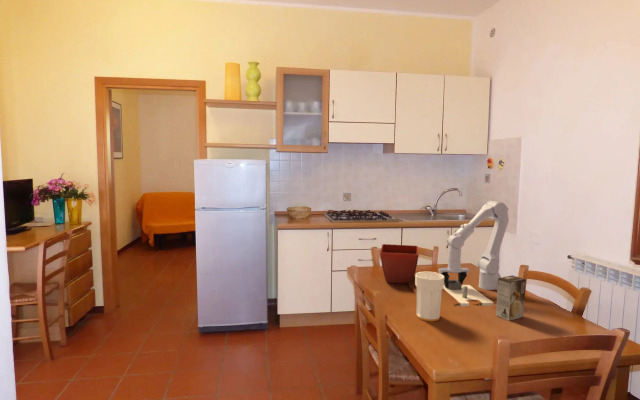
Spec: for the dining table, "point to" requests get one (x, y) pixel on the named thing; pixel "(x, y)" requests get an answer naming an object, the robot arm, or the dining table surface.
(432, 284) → the cup
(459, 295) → the shelf board
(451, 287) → the grey square frame
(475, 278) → the dining table surface
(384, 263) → the plant pot
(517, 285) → the coffee box
